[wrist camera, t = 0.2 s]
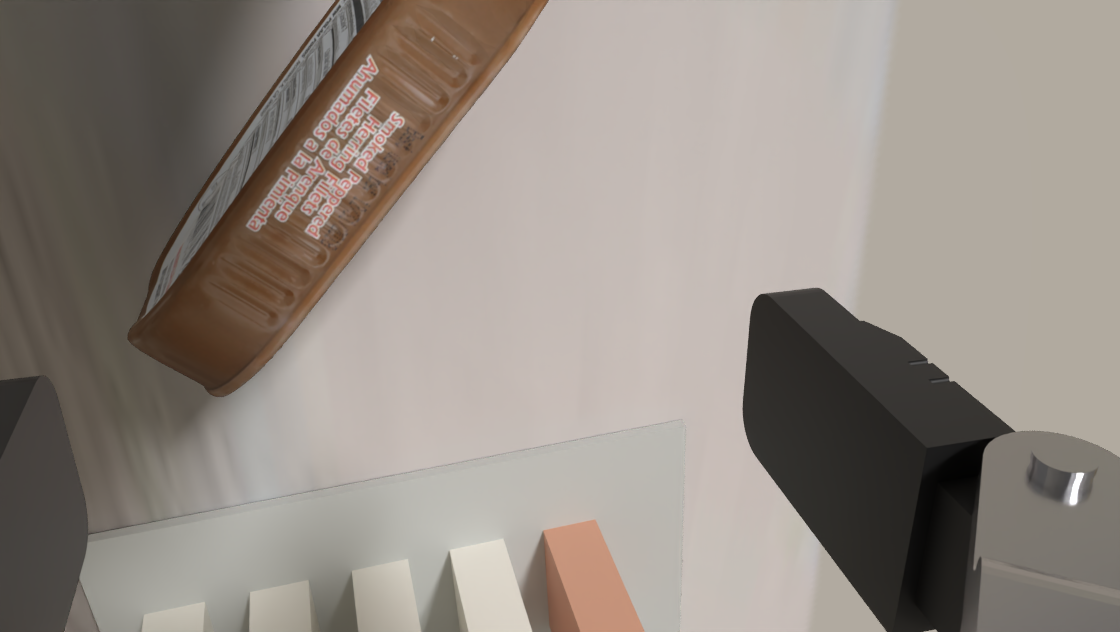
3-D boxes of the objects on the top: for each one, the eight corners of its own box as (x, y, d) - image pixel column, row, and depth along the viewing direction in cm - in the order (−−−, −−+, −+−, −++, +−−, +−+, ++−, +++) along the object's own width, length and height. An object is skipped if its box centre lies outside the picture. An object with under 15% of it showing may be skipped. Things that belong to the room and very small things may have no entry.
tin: (226, 303, 30) (216, 475, 22) (127, 249, 28) (81, 415, 21) (547, -118, 26) (653, -72, 19) (454, -205, 25) (531, -192, 18)
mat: (69, 538, 32) (66, 546, 32) (682, 419, 36) (686, 425, 36) (159, 773, 38) (158, 782, 38) (675, 648, 42) (679, 655, 42)
